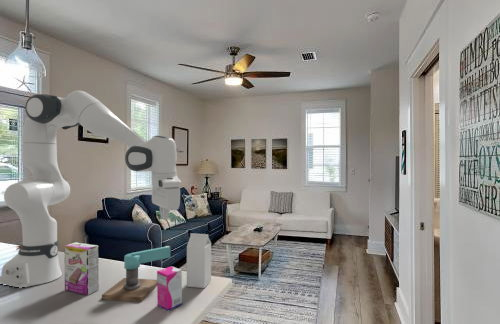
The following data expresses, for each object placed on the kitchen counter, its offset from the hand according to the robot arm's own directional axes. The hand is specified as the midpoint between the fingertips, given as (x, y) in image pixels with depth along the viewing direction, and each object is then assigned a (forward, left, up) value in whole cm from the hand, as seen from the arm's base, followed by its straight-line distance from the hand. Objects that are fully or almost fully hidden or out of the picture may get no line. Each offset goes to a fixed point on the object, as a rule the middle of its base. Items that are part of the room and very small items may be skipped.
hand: (164, 219), depth 107 cm
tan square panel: (-11, -2, -26) cm, 28 cm away
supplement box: (+6, -10, -26) cm, 28 cm away
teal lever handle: (-7, +2, -17) cm, 18 cm away
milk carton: (+11, +7, -26) cm, 29 cm away
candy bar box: (-29, -4, -26) cm, 39 cm away
